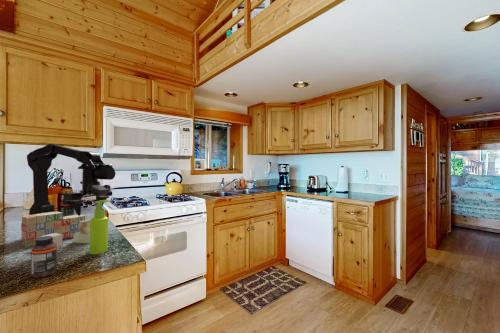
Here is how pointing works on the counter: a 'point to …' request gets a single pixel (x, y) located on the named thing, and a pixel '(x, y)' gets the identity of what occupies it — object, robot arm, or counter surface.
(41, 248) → the supplement bottle
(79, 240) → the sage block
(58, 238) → the grey cube
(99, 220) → the soap dispenser
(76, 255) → the counter surface
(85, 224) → the maple cube
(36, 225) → the stack of blocks
